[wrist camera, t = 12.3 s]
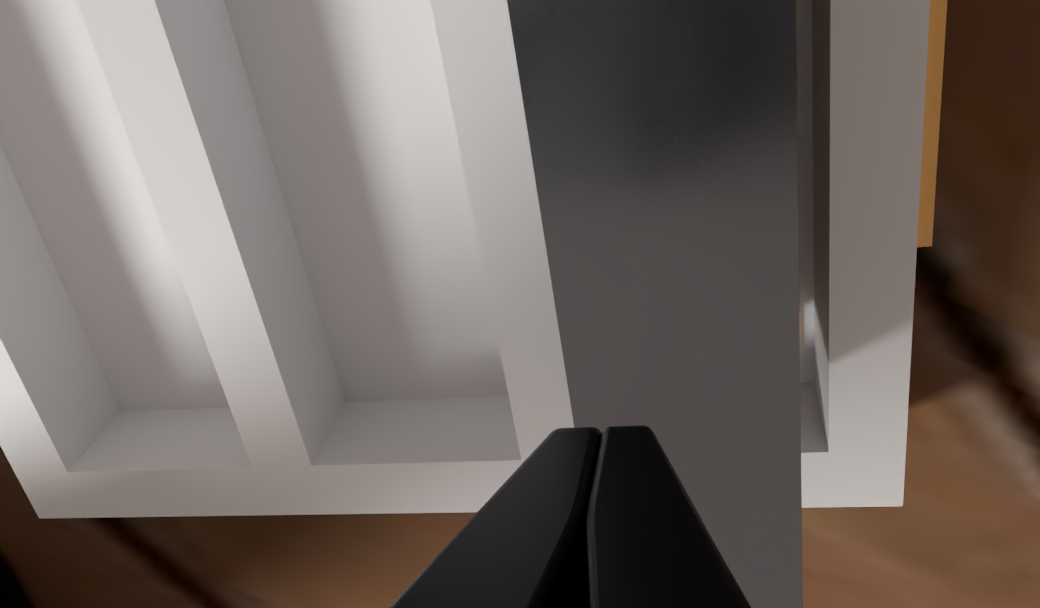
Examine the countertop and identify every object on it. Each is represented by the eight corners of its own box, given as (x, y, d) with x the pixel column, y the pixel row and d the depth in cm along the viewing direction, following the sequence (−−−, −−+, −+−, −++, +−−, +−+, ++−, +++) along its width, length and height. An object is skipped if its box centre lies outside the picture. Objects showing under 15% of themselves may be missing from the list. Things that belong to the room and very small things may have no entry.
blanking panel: (763, 328, 21) (802, 608, 14) (628, 335, 21) (602, 606, 14) (742, -307, 15) (790, -368, 8) (558, -272, 15) (460, -300, 9)
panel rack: (890, 419, 22) (917, 505, 19) (101, 445, 26) (38, 518, 24) (935, -580, 13) (994, -662, 11) (-246, -293, 18) (-401, -303, 15)
